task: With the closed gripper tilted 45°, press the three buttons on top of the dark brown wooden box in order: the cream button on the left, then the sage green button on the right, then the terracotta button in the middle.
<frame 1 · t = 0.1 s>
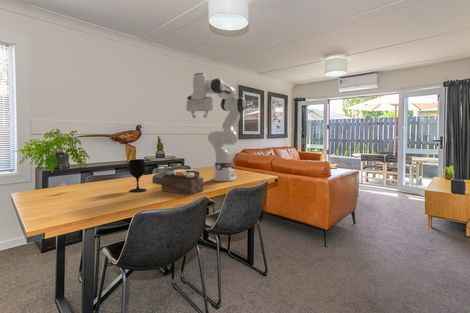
hand: (199, 117, 179), 48 cm above the table, tool pointing down, fingers open, 8 cm apart
dark brown wooden box: (182, 191, 169), on the table
terracotta button: (180, 174, 166), point 11 cm above the table, slide at 0.0 cm
wine glass: (137, 191, 169), on the table
sage button: (170, 173, 170), point 11 cm above the table, slide at 0.0 cm
cream button: (190, 175, 162), point 11 cm above the table, slide at 0.0 cm
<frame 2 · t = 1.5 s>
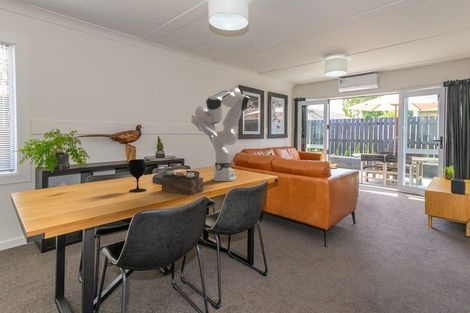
hand: (205, 134, 159), 37 cm above the table, tool tilted 55°, fingers open, 8 cm apart
nothing on the table moved.
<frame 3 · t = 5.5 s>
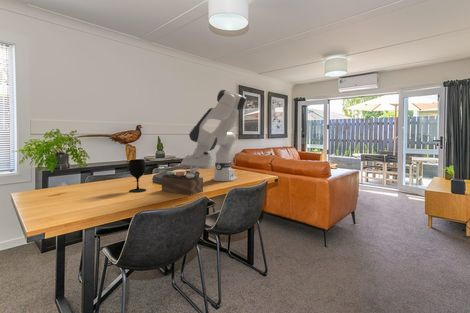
hand: (192, 172, 163), 13 cm above the table, tool tilted 45°, fingers closed
cream button: (190, 175, 162), point 11 cm above the table, slide at 0.3 cm, touching gripper
everything else where it was.
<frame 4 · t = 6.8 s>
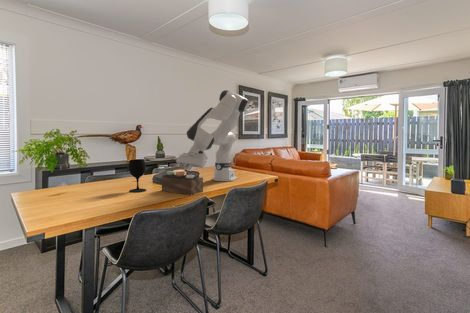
hand: (185, 170, 164), 14 cm above the table, tool tilted 45°, fingers closed
cream button: (190, 177, 162), point 10 cm above the table, slide at 1.2 cm
everything else where it was.
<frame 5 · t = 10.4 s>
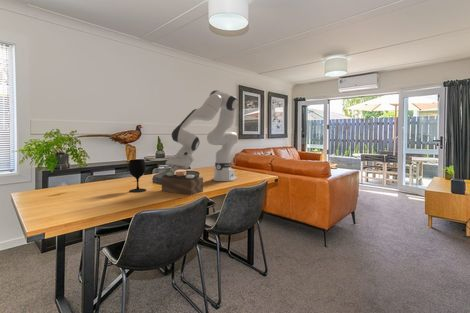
hand: (171, 171, 170), 12 cm above the table, tool tilted 45°, fingers closed
sage button: (170, 174, 170), point 10 cm above the table, slide at 0.9 cm
everything else where it was.
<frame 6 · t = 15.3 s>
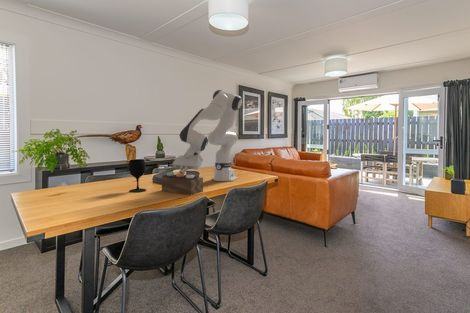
hand: (181, 172, 166), 12 cm above the table, tool tilted 45°, fingers closed, pressing on terracotta button
terracotta button: (180, 175, 166), point 11 cm above the table, slide at 0.9 cm, touching gripper
everything else where it was.
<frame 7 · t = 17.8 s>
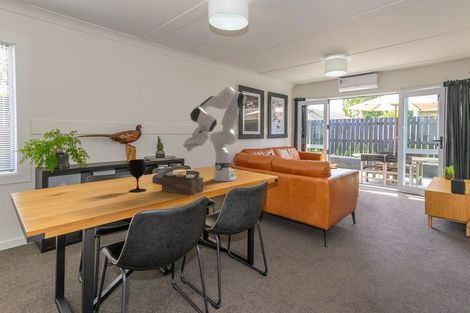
hand: (188, 150, 175), 26 cm above the table, tool tilted 45°, fingers closed
terracotta button: (180, 175, 166), point 10 cm above the table, slide at 1.2 cm
everything else where it was.
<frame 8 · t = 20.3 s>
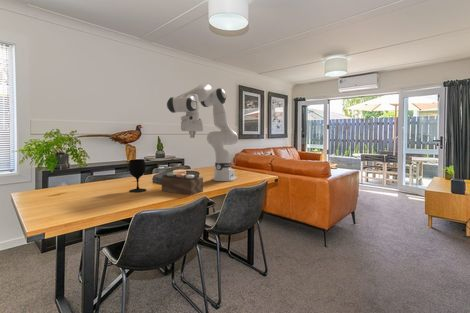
hand: (192, 137, 182), 34 cm above the table, tool pointing down, fingers closed
nothing on the table moved.
at the end: cream button slide at 1.2 cm; sage button slide at 1.2 cm; terracotta button slide at 1.2 cm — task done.
